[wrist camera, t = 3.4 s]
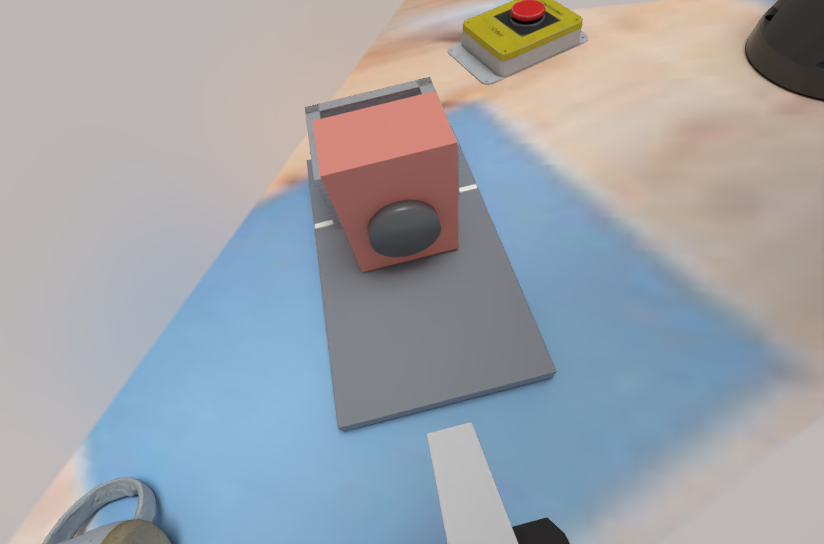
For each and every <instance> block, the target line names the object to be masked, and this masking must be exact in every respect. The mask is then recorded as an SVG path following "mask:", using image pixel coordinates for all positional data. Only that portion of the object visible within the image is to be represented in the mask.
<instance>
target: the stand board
mask: <svg viewBox="0 0 824 544" xmlns="http://www.w3.org/2000/svg"><path fill="white" fill-rule="evenodd" d="M451 128H452V126H451ZM452 130H453V129H452ZM453 133H454V131H453ZM454 135H455V133H454ZM455 137H456V136H455ZM456 140H457V138H456ZM457 142H458V140H457ZM458 144H459V143H458ZM307 166H308V175H309V184H310V192H311V201H312V210H313V218H314V227H315V235H316V244H317V253H318V261H319V270H320V279H321V287H322V296H323V304H324V313H325V322H326V330H327V339H328V348H329V356H330V365H331V373H332V382H333V391H334V399H335V408H336V417H337V425H338V429H340V430H342V431H348V430H352V429H356V428H360V427H364V426H367V425H371V424H375V423H379V422H383V421H387V420H391V419H394V418H398V417H402V416H406V415H410V414H414V413H418V412H421V411H425V410H429V409H433V408H437V407H441V406H445V405H448V404H452V403H456V402H460V401H464V400H468V399H472V398H475V397H479V396H483V395H487V394H491V393H495V392H498V391H502V390H506V389H510V388H514V387H518V386H522V385H525V384H529V383H533V382H537V381H541V380H545V379H549V378H552V377H553V376H554V374H555V373H556V369H555V367H554V365H553V362H552V360H551V358H550V355H549V353H548V351H547V348H546V346H545V344H544V341H543V339H542V337H541V334H540V332H539V330H538V327H537V325H536V323H535V320H534V318H533V316H532V313H531V311H530V309H529V306H528V304H527V302H526V299H525V297H524V294H523V292H522V290H521V287H520V285H519V283H518V280H517V278H516V276H515V273H514V271H513V269H512V266H511V264H510V262H509V259H508V257H507V255H506V252H505V250H504V248H503V245H502V243H501V241H500V238H499V236H498V234H497V231H496V229H495V227H494V224H493V222H492V220H491V217H490V215H489V213H488V210H487V208H486V206H485V203H484V201H483V199H482V196H481V194H480V192H479V189H478V187H477V185H476V182H475V180H474V178H473V175H472V173H471V171H470V168H469V166H468V164H467V161H466V159H465V157H464V154H463V152H462V150H461V147H460V145H459V198H458V242H459V248H457V249H453V250H449V251H445V252H441V253H437V254H433V255H429V256H425V257H422V258H418V259H414V260H410V261H406V262H402V263H398V264H394V265H390V266H386V267H382V268H378V269H374V270H370V271H366V272H362V270H361V268H360V266H359V263H358V261H357V259H356V257H355V254H354V252H353V250H352V247H351V245H350V243H349V241H348V238H347V236H346V234H345V232H344V229H343V227H341V228H337V229H336V227H335V225H334V223H333V220H332V218H331V216H330V214H329V212H328V210H327V208H326V205H325V203H324V201H323V199H322V197H321V195H320V192H319V190H318V188H317V186H316V184H315V182H314V177H313V169H312V161H311V160H307Z"/></svg>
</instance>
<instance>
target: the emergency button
mask: <svg viewBox="0 0 824 544" xmlns="http://www.w3.org/2000/svg"><path fill="white" fill-rule="evenodd" d="M582 20H583V18H582V17H581V16H579V15H578V14H576V13H574V12H573V11H571V10H569V9H568V8H566V7H564V6H563V5H561V4H559V3H558V2H556V1H554V0H513V1H511V2H508V3H506V4H504V5H501V6H499V7H496V8H494V9H492V10H489V11H487V12H484V13H482V14H480V15H477V16H475V17H472V18H470V19H467V20H466V21H464V24H463V36H462V42H460V43H458V44H456V45H453V46H451V47H450V48H449V49H448V54H449V55H451V56H452V57H453V58H454V59H455V60H456V61H457V62H458V63H459V64H461V65H462V66H463V67H464V68H465V69H466V70H467V71H468V72H470V73H471V74H472V75H473V76H474V77H475V78H476V79H477V80H478V81H480V82H481V83H482V84H485V85H490V84H494V83H496V82H498V81H501V80H503V79H505V78H507V77H509V76H512V75H514V74H516V73H518V72H521V71H523V70H525V69H527V68H530V67H532V66H534V65H536V64H539V63H541V62H543V61H545V60H547V59H550V58H552V57H554V56H556V55H559V54H561V53H563V52H565V51H568V50H570V49H572V48H574V47H577V46H579V45H581V44H583V43H585V42H587V41H588V36H587V35H586V34H585V33H583V32H582V31H581V27H582Z"/></svg>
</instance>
